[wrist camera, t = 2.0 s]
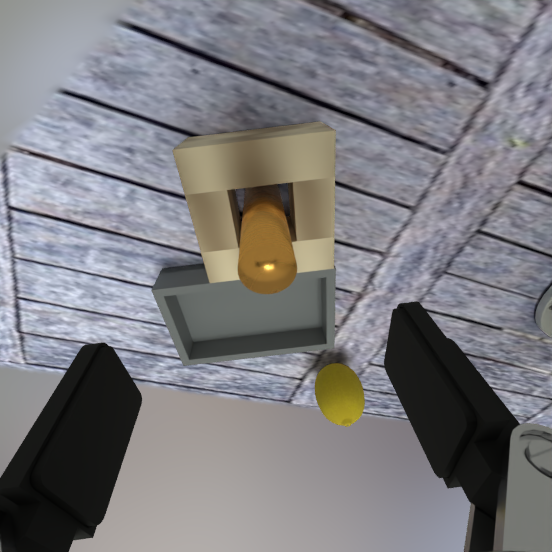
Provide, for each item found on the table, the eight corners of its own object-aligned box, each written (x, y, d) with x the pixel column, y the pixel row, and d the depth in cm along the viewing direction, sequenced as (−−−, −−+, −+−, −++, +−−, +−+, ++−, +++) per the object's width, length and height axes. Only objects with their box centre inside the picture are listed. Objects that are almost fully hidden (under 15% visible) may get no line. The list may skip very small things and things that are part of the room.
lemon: (303, 359, 36) (314, 420, 30) (345, 343, 35) (366, 404, 29) (319, 383, 39) (332, 444, 33) (358, 369, 38) (379, 429, 32)
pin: (278, 174, 24) (295, 240, 14) (281, 209, 25) (298, 290, 15) (242, 178, 24) (232, 247, 14) (247, 213, 25) (242, 297, 15)
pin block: (320, 121, 22) (335, 130, 18) (321, 240, 27) (333, 268, 23) (188, 137, 22) (172, 149, 18) (216, 253, 27) (209, 283, 23)
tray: (327, 249, 28) (335, 268, 25) (327, 325, 33) (334, 348, 31) (162, 268, 28) (151, 290, 25) (189, 341, 34) (183, 365, 31)
